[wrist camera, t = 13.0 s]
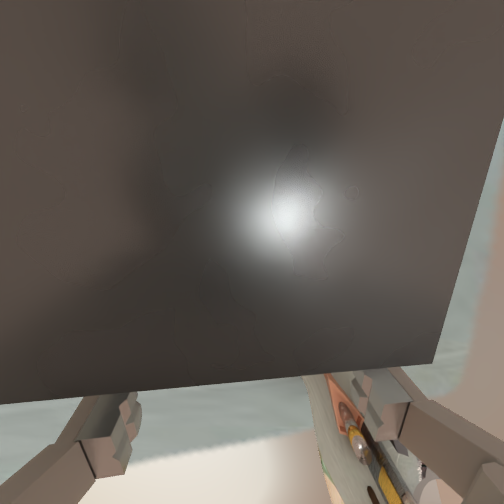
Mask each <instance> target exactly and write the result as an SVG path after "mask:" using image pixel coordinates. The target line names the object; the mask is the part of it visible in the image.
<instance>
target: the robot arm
mask: <svg viewBox="0 0 504 504" xmlns="http://www.w3.org/2000/svg"><path fill="white" fill-rule="evenodd" d="M353 374H354V376H355V378H354V379H353V380H352V381H351V387H350V389H351V395H352V398H353V401H354V403H355V405H356V407H357V409H358V410H359V411H360V412H362V413H363V414H364V415H365V418H364V422H365V424H366V426H367V428H368V430H369V432H370V433H371V435H372V437H373V439H374V441H375V442H377V441H387V440H397V439H399V442H400V443H401V444H403V445H404V446H405V447H406V448H407V449H408V450H409V451H410V452H412V453H413V454H414V455H415V456H416V457H417V458H418V459H419V460H420V461H422V462H423V463H424V464H425V465H426V466H427V467H428V468H429V469H430V470H432V471H433V472H434V473H435V474H436V475H437V476H438V477H439V478H441V479H442V480H443V481H444V482H445V483H446V484H447V485H448V486H449V487H451V488H452V489H453V490H454V491H455V492H456V493H457V494H458V495H459V496H461V497H462V498H463V501H462V503H461V504H504V442H503V441H501V440H500V439H498V438H497V437H495V436H493V435H491V434H490V433H488V432H486V431H485V430H483V429H481V428H479V427H478V426H476V425H475V424H473V423H471V422H469V421H468V420H466V419H464V418H463V417H461V416H459V415H458V414H456V413H454V412H452V411H451V410H449V409H447V408H445V407H444V406H442V405H441V404H439V403H437V402H436V401H434V400H428V399H427V398H426V396H425V395H424V394H423V393H422V392H421V391H420V389H419V388H418V387H417V386H416V385H415V384H414V383H413V381H412V380H411V379H410V378H409V377H408V376H407V374H406V373H405V372H404V371H403V370H402V369H401V368H400V367H390V368H379V369H369V370H358V371H353ZM137 396H138V393H137V392H127V393H116V394H106V395H95V396H85V397H83V399H82V401H81V402H80V404H79V405H78V407H77V409H76V410H75V412H74V413H73V415H72V417H71V418H70V420H69V421H68V423H67V425H66V426H65V428H64V429H63V431H62V433H61V434H60V436H59V437H58V439H57V441H56V442H55V444H51V445H48V446H47V447H46V448H45V449H44V450H42V451H41V452H40V453H39V454H38V455H36V456H35V457H34V458H33V459H32V460H30V461H29V462H28V463H27V464H26V465H24V466H23V467H22V468H21V469H20V470H18V471H17V472H16V473H15V474H14V475H12V476H11V477H10V478H9V479H8V480H6V481H5V482H4V483H3V484H2V485H0V504H78V502H79V501H80V500H81V499H82V497H83V496H84V495H85V494H86V492H87V491H88V490H89V489H90V487H91V486H92V485H93V484H94V482H95V479H99V478H105V477H111V476H117V475H124V474H125V471H126V468H127V465H128V462H129V459H130V456H131V453H132V447H131V442H132V440H133V439H134V438H135V437H136V436H137V435H138V432H139V429H140V425H141V419H142V408H141V404H140V403H138V402H137V401H136V399H137Z"/></svg>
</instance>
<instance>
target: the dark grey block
mask: <svg viewBox="0 0 504 504" xmlns="http://www.w3.org/2000/svg"><path fill="white" fill-rule="evenodd" d="M503 118H504V0H0V405H1V404H11V403H22V402H32V401H43V400H53V399H64V398H74V397H85V396H95V395H106V394H116V393H127V392H137V391H148V390H158V389H169V388H179V387H190V386H200V385H211V384H221V383H232V382H242V381H253V380H263V379H274V378H284V377H295V376H306V375H316V374H327V373H337V372H348V371H358V370H369V369H379V368H390V367H400V366H411V365H421V364H432V362H433V359H434V355H435V352H436V348H437V345H438V342H439V338H440V335H441V331H442V328H443V324H444V321H445V317H446V314H447V311H448V307H449V304H450V300H451V297H452V293H453V290H454V286H455V283H456V280H457V276H458V273H459V269H460V266H461V262H462V259H463V255H464V252H465V248H466V245H467V242H468V238H469V235H470V231H471V228H472V224H473V221H474V217H475V214H476V211H477V207H478V204H479V200H480V197H481V193H482V190H483V186H484V183H485V180H486V176H487V173H488V169H489V166H490V162H491V159H492V155H493V152H494V149H495V145H496V142H497V138H498V135H499V131H500V128H501V124H502V121H503Z"/></svg>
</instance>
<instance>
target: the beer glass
mask: <svg viewBox="0 0 504 504" xmlns="http://www.w3.org/2000/svg"><path fill="white" fill-rule="evenodd" d="M301 378H302V379H303V381H304V384H305V386H306V389H307V392H308V396H309V401H310V406H311V411H312V417H313V423H314V429H315V435H316V440H317V445H318V451H319V455H320V459H321V464H322V469H323V473H324V477H325V481H326V485H327V488H328V491H329V495H330V498H331V502H332V504H461V503H462V501H463V498H462V497H461V496H459V495H458V494H457V493H456V492H455V491H454V490H453V489H452V488H451V487H449V486H448V485H447V484H446V483H445V482H444V481H443V480H442V479H441V478H439V477H438V476H437V475H436V474H435V473H434V472H433V471H432V470H430V469H429V468H428V467H427V466H426V465H425V464H424V463H423V462H422V461H420V460H419V459H418V458H417V457H416V456H415V455H414V454H413V453H412V452H410V451H409V450H408V449H407V448H406V447H405V446H404V445H403V444H401V443H400V442H399V439H397V440H387V441H377V442H375V441H374V439H373V437H372V435H371V433H370V432H369V430H368V428H367V426H366V424H365V422H364V418H365V415H364V414H363V413H362V412H360V411H359V410H358V409H357V407H356V405H355V403H354V401H353V398H352V395H351V389H350V387H351V381H352V380H353V379H354V378H355V376H354V374H353V371H348V372H337V373H327V374H316V375H306V376H301Z"/></svg>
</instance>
